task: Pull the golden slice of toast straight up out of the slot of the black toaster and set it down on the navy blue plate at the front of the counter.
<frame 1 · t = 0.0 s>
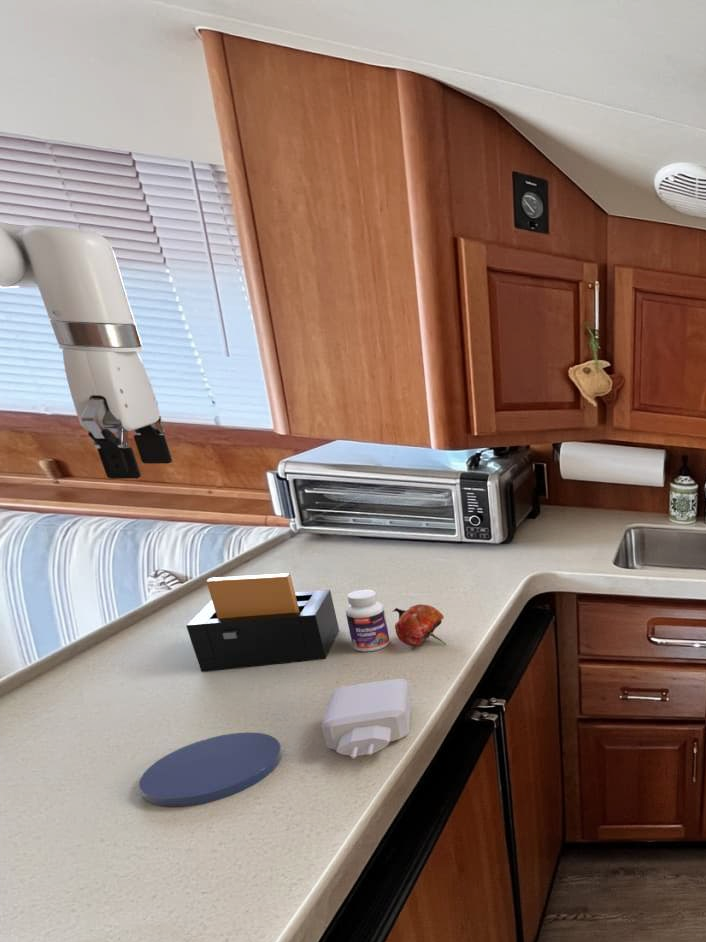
hand: (142, 470, 88), 31 cm above the table, tool pointing down, fingers open, 9 cm apart
toast: (268, 645, 103), point 2 cm above the table, touching toaster
charger: (371, 740, 87), on the table
pomegranate: (424, 643, 112), on the table
pill bottle: (372, 646, 110), on the table
plate: (215, 770, 78), on the table
toaster: (275, 649, 106), on the table
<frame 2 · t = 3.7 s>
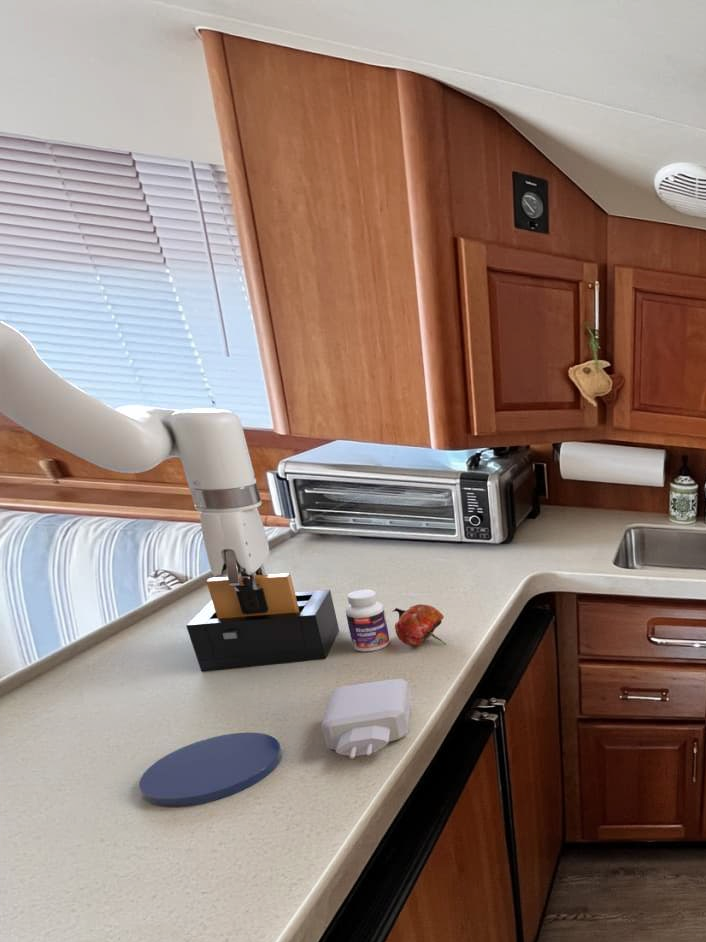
hand: (258, 609, 101), 9 cm above the table, tool pointing down, fingers closed on toast, 1 cm apart
toast: (268, 645, 103), point 2 cm above the table, touching gripper
everything else where it was.
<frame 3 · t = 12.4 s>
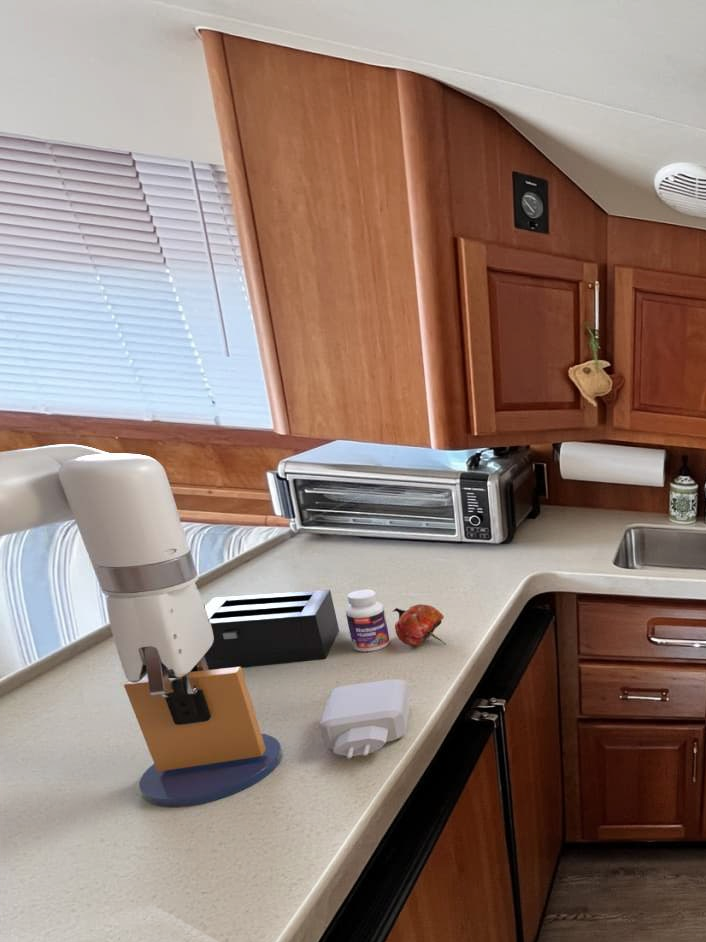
hand: (197, 715, 75), 8 cm above the table, tool pointing down, fingers closed on toast, 1 cm apart
toast: (213, 760, 78), point 2 cm above the table, touching gripper
everything else where it was.
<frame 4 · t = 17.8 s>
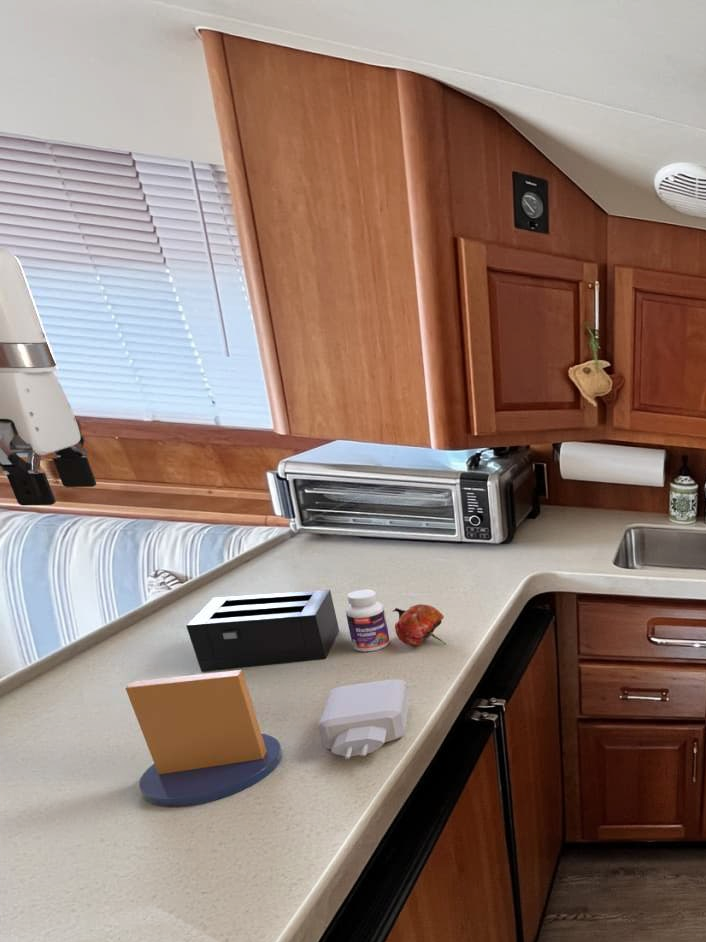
hand: (60, 495, 84), 28 cm above the table, tool pointing down, fingers open, 9 cm apart
toast: (214, 762, 78), point 1 cm above the table, touching plate
everything else where it was.
at the end: toast inside the target area on the plate (0.1 cm from its centre), point 1.2 cm above the plate's base; toast touching plate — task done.
